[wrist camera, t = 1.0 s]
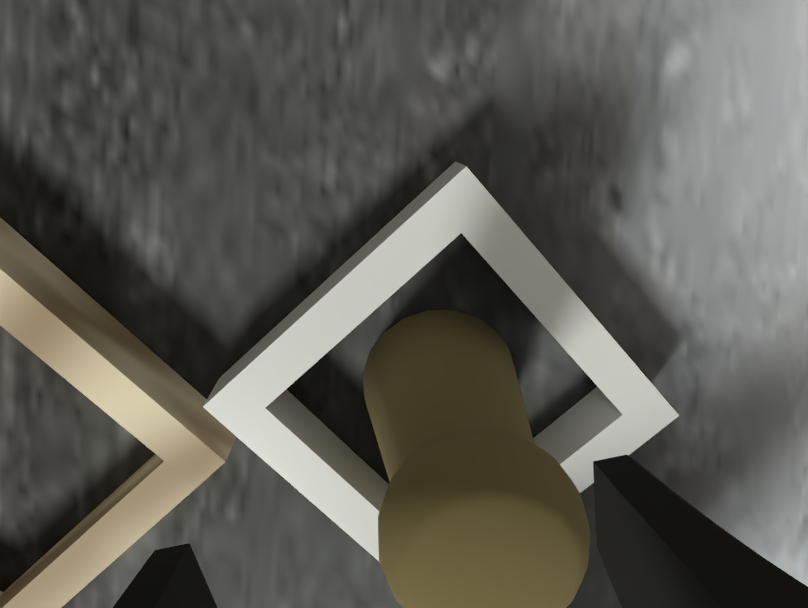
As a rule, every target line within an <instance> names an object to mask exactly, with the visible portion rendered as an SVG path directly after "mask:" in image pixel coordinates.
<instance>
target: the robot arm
mask: <svg viewBox="0 0 808 608" xmlns="http://www.w3.org/2000/svg"><path fill="white" fill-rule="evenodd" d="M593 472H594V492H595V512H596V532H597V547H598V549H599V552H600V554H601V557H602V559H603V562H604V565H605V567H606V570H607V572H608V575H609V577H610V579H611V582H612V584H613V587H614V589H615V591H616V594H617V596H618V599H619V601H620V603H621V605H622V607H623V608H808V587H807V586H806V585H804V584H802V583H801V582H799V581H798V580H796V579H795V578H793V577H792V576H790V575H789V574H787V573H786V572H784V571H783V570H781V569H780V568H778V567H777V566H775V565H774V564H772V563H771V562H769V561H768V560H766V559H765V558H763V557H762V556H760V555H759V554H757V553H756V552H754V551H753V550H752V549H750V548H749V547H747V546H746V545H744V544H743V543H742V542H740V541H739V540H738V539H736V538H735V537H733V536H732V535H731V534H729V533H728V532H727V531H725V530H724V529H722V528H721V527H720V526H718V525H717V524H716V523H714V522H713V521H712V520H710V519H709V518H707V517H706V516H705V515H703V514H702V513H701V512H700V511H698V510H697V509H696V508H694V507H693V506H692V505H690V504H689V503H688V502H687V501H685V500H684V499H683V498H681V497H680V496H679V495H678V494H676V493H675V492H674V491H672V490H671V489H670V488H669V487H667V486H666V485H665V484H664V483H662V482H661V481H660V480H659V479H657V478H656V477H655V476H654V475H652V474H651V473H650V472H649V471H648V470H646V469H645V468H644V467H643V466H641V465H640V464H639V463H638V462H636V461H635V460H634V459H633V458H631V457H630V456H628V455H622V456H617V457H612V458H607V459H602V460H597V461H593ZM113 608H217V606H216V604H215V601H214V599H213V597H212V594H211V592H210V590H209V587H208V585H207V583H206V580H205V578H204V576H203V574H202V571H201V569H200V567H199V564H198V562H197V560H196V557H195V555H194V553H193V551H192V548H191V546H190V544H184V545H179V546H174V547H169V548H164V549H159V550H155V551H154V552H153V554H152V555H151V556H150V558H149V559H148V560H147V562H146V563H145V564H144V566H143V567H142V568H141V570H140V571H139V572H138V574H137V575H136V577H135V578H134V579H133V581H132V582H131V583H130V585H129V586H128V588H127V589H126V590H125V592H124V593H123V594H122V596H121V597H120V598H119V600H118V601H117V603H116V604H115V605H114V607H113Z"/></svg>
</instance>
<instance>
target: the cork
mask: <svg viewBox="0 0 808 608" xmlns="http://www.w3.org/2000/svg"><path fill="white" fill-rule="evenodd" d="M363 392H364V399H365V402H366V406H367V409H368V412H369V415H370V419H371V422H372V425H373V429H374V432H375V435H376V439H377V442H378V445H379V448H380V452H381V455H382V458H383V462H384V465H385V468H386V472H387V475H388V478H389V481H390V484H389V486H388V489H387V492H386V495H385V497H384V500H383V503H382V506H381V509H380V512H379V515H378V546H379V561H380V564H381V566H382V569H383V571H384V574H385V576H386V578H387V581H388V583H389V586H390V588H391V590H392V593H393V595H394V597H395V600H396V601H397V602H398V603H399V604H400V605H401V606H402V607H403V608H567V607H568V606H569V605H570V603H571V602H572V601H573V600H574V597H575V595H576V593H577V591H578V589H579V587H580V584H581V582H582V580H583V578H584V575H585V572H586V570H587V567H588V563H589V551H590V540H591V535H590V529H589V523H588V519H587V515H586V512H585V508H584V505H583V501H582V498H581V495H580V493H579V491H578V489H577V488H576V486H575V485H574V483H573V481H572V480H571V479H570V477H569V476H568V475H567V473H566V472H565V471H564V469H563V468H562V467H561V465H560V464H559V463H558V462H557V460H556V459H555V458H554V457H553V456H551V455H550V454H549V453H547V452H546V451H545V450H543V449H542V448H540V447H539V446H537V445H536V444H534V440H533V437H532V433H531V429H530V425H529V421H528V417H527V413H526V409H525V406H524V402H523V398H522V394H521V390H520V386H519V382H518V378H517V375H516V371H515V367H514V364H513V361H512V357H511V354H510V351H509V348H508V346H507V345H506V344H505V342H504V341H503V339H502V338H501V337H500V335H499V334H498V333H497V331H496V330H495V329H494V328H492V327H491V326H489V325H488V324H486V323H485V322H483V321H482V320H480V319H479V318H478V317H476V316H473V315H470V314H466V313H463V312H459V311H456V310H426V311H424V312H421V313H418V314H415V315H412V316H409V317H406V318H403V319H402V320H401V321H399V322H398V323H397V324H395V325H394V326H392V327H391V328H390V329H388V330H387V331H386V332H384V333H383V335H382V336H381V337H380V339H379V340H378V341H377V343H376V344H375V346H374V347H373V348H372V350H371V351H370V353H369V356H368V359H367V363H366V366H365V369H364V372H363Z"/></svg>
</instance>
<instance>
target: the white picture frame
mask: <svg viewBox="0 0 808 608" xmlns="http://www.w3.org/2000/svg"><path fill="white" fill-rule="evenodd" d="M461 233H462V234H463V236H464V237H465V238H466V239H467V240H468V241H469V242H470V243H471V245H472V246H473V247H474V248H475V249H476V250H477V251H478V252H479V254H480V255H481V256H482V257H483V258H484V259H485V260H486V261H487V263H488V264H489V265H490V266H491V267H492V268H493V269H494V270H495V272H496V273H497V274H498V275H499V276H500V277H501V278H502V279H503V281H504V282H505V283H506V284H507V285H508V286H509V287H510V288H511V290H512V291H513V292H514V293H515V294H516V295H517V296H518V298H519V299H520V300H521V301H522V302H523V303H524V304H525V305H526V307H527V308H528V309H529V310H530V311H531V312H532V313H533V314H534V316H535V317H536V318H537V319H538V320H539V321H540V322H541V323H542V325H543V326H544V327H545V328H546V329H547V330H548V331H549V332H550V334H551V335H552V336H553V337H554V338H555V339H556V340H557V341H558V343H559V344H560V345H561V346H562V347H563V348H564V349H565V350H566V352H567V353H568V354H569V355H570V356H571V357H572V358H573V359H574V361H575V362H576V363H577V364H578V365H579V366H580V367H581V368H582V370H583V371H584V372H585V373H586V374H587V375H588V376H589V377H590V379H591V380H592V381H593V382H594V383H595V384H596V385H597V387H596V388H595V389H593V390H592V391H591V392H590V393H589V394H587V395H586V396H585V397H584V398H582V399H581V400H580V401H579V402H577V403H576V404H575V405H574V406H572V407H571V408H570V409H569V410H568V411H566V412H565V413H564V414H563V415H561V416H560V417H559V418H558V419H556V420H555V421H554V422H553V423H551V424H550V425H549V426H548V427H546V428H545V429H544V430H543V431H542V432H540V433H539V434H538V435H537V436H535V437H534V438H533V440H534V444H536V445H537V446H539V447H540V448H542V449H543V450H545V451H546V452H547V453H549V454H550V455H551V456H553V457H554V458H555V459H556V460H557V462H558V463H559V464H560V465H561V467H562V468H563V469H564V471H565V472H566V473H567V475H568V476H569V477H570V479H571V480H572V481H573V483H574V485H575V486H576V488H577V489H578V491H579V493H581V492H582V491H584V490H585V489H586V488H587V487H589V486H590V485H591V484H592V483H594V472H593V461H597V460H602V459H607V458H612V457H617V456H622V455H630V454H631V453H632V452H634V451H635V450H636V449H637V448H639V447H640V446H641V445H643V444H644V443H645V442H646V441H648V440H649V439H650V438H651V437H653V436H654V435H655V434H657V433H658V432H659V431H660V430H662V429H663V428H664V427H666V426H667V425H668V424H669V423H671V422H672V421H673V420H675V419H676V418H677V417H678V416H679V415H678V414H677V412H676V411H675V410H674V409H673V408H672V407H671V405H670V404H669V403H668V402H667V401H666V400H665V398H664V397H663V396H662V395H661V394H660V393H659V391H658V390H657V389H656V388H655V387H654V386H653V384H652V383H651V382H650V381H649V380H648V378H647V377H646V376H645V375H644V374H643V373H642V371H641V370H640V369H639V368H638V367H637V366H636V364H635V363H634V362H633V361H632V360H631V359H630V357H629V356H628V355H627V354H626V353H625V352H624V350H623V349H622V348H621V347H620V346H619V345H618V343H617V342H616V341H615V340H614V339H613V337H612V336H611V335H610V334H609V333H608V332H607V330H606V329H605V328H604V327H603V326H602V325H601V323H600V322H599V321H598V320H597V319H596V318H595V316H594V315H593V314H592V313H591V312H590V311H589V309H588V308H587V307H586V306H585V305H584V303H583V302H582V301H581V300H580V299H579V298H578V296H577V295H576V294H575V293H574V292H573V291H572V289H571V288H570V287H569V286H568V285H567V284H566V282H565V281H564V280H563V279H562V278H561V277H560V275H559V274H558V273H557V272H556V271H555V269H554V268H553V267H552V266H551V265H550V264H549V262H548V261H547V260H546V259H545V258H544V257H543V255H542V254H541V253H540V252H539V251H538V250H537V248H536V247H535V246H534V245H533V244H532V243H531V241H530V240H529V239H528V238H527V237H526V236H525V234H524V233H523V232H522V231H521V230H520V228H519V227H518V226H517V225H516V224H515V223H514V221H513V220H512V219H511V218H510V217H509V216H508V214H507V213H506V212H505V211H504V210H503V209H502V207H501V206H500V205H499V204H498V203H497V202H496V200H495V199H494V198H493V197H492V196H491V194H490V193H489V192H488V191H487V190H486V189H485V187H484V186H483V185H482V184H481V183H480V182H479V180H478V179H477V178H476V177H475V176H474V175H473V173H472V172H471V171H470V170H469V169H468V168H467V166H465V165H462V164H460V163H458V162H456V161H455V162H454V163H453V164H452V165H451V166H450V167H449V168H448V169H446V170H445V171H444V172H443V173H442V174H441V175H440V176H439V177H438V178H437V179H436V180H434V181H433V182H432V183H431V184H430V185H429V186H428V187H427V188H426V189H425V190H424V191H422V192H421V193H420V194H419V195H418V196H417V197H416V198H415V199H414V200H413V201H412V202H410V203H409V204H408V205H407V206H406V207H405V208H404V209H403V210H402V211H401V212H400V213H398V214H397V215H396V216H395V217H394V218H393V219H392V220H391V221H390V222H389V223H388V224H386V225H385V226H384V227H383V228H382V229H381V230H380V231H379V232H378V233H377V234H376V235H374V236H373V237H372V238H371V239H370V240H369V241H368V242H367V243H366V244H365V245H364V246H363V247H361V248H360V249H359V250H358V251H357V252H356V253H355V254H354V255H353V256H352V257H351V258H349V259H348V260H347V261H346V262H345V263H344V264H343V265H342V266H341V267H340V268H339V269H337V270H336V271H335V272H334V273H333V274H332V275H331V276H330V277H329V278H328V279H327V280H325V281H324V282H323V283H322V284H321V285H320V286H319V287H318V288H317V289H316V290H315V291H313V292H312V293H311V294H310V295H309V296H308V297H307V298H306V299H305V300H304V301H303V302H301V303H300V304H299V305H298V306H297V307H296V308H295V309H294V310H293V311H292V312H291V313H289V314H288V315H287V316H286V317H285V318H284V319H283V320H282V321H281V322H280V323H279V324H277V325H276V326H275V327H274V328H273V329H272V330H271V331H270V332H269V333H268V334H267V335H265V336H264V337H263V338H262V339H261V340H260V341H259V342H258V343H257V344H256V345H255V346H254V347H252V348H251V349H250V350H249V351H248V352H247V353H246V354H245V355H244V356H243V357H242V358H240V359H239V360H238V361H237V362H236V363H235V364H234V365H233V366H232V367H231V368H230V369H228V370H227V371H226V372H225V373H224V374H223V375H222V376H221V377H220V378H219V379H218V381H217V383H216V384H215V386H214V388H213V390H212V391H211V393H210V395H209V397H208V398H207V400H206V402H205V404H204V405H203V408H204V409H206V410H207V411H208V412H209V413H210V414H211V415H212V416H214V417H215V418H216V419H217V420H218V421H219V422H220V423H222V424H223V425H224V426H225V427H226V428H227V429H228V430H230V431H231V432H232V433H233V434H234V435H235V436H236V437H238V438H239V439H240V440H241V441H242V442H243V443H244V444H246V445H247V446H248V447H249V448H250V449H251V450H252V451H254V452H255V453H256V454H257V455H258V456H259V457H260V458H262V459H263V460H264V461H265V462H266V463H267V464H268V465H270V466H271V467H272V468H273V469H274V470H275V471H276V472H278V473H279V474H280V475H281V476H282V477H283V478H284V479H286V480H287V481H288V482H289V483H290V484H291V485H292V486H294V487H295V488H296V489H297V490H298V491H299V492H300V493H302V494H303V495H304V496H305V497H306V498H307V499H308V500H310V501H311V502H312V503H313V504H314V505H315V506H316V507H318V508H319V509H320V510H321V511H322V512H323V513H324V514H326V515H327V516H328V517H329V518H330V519H331V520H332V521H334V522H335V523H336V524H337V525H338V526H339V527H340V528H342V529H343V530H344V531H345V532H346V533H347V534H348V535H350V536H351V537H352V538H353V539H354V540H355V541H356V542H357V543H359V544H360V545H361V546H362V547H363V548H364V549H365V550H367V551H368V552H369V553H370V554H371V555H372V556H373V557H375V558H376V559H377V560H378V561H379V546H378V515H379V512H380V509H381V506H382V503H383V500H384V497H385V495H386V492H387V489H388V486H389V484H388V483H387V482H386V481H385V480H384V479H383V478H382V477H380V476H379V475H378V474H377V473H376V472H375V471H374V470H373V469H372V468H371V467H370V466H369V465H367V464H366V463H365V462H364V461H363V460H362V459H361V458H360V457H359V456H358V455H357V454H356V453H355V452H353V451H352V450H351V449H350V448H349V447H348V446H347V445H346V444H345V443H344V442H343V441H342V440H341V439H339V438H338V437H337V436H336V435H335V434H334V433H333V432H332V431H331V430H330V429H329V428H328V427H327V426H325V425H324V424H323V423H322V422H321V421H320V420H319V419H318V418H317V417H316V416H315V415H314V414H312V413H311V412H310V411H309V410H308V409H307V408H306V407H305V406H304V405H303V404H302V403H301V402H300V401H298V400H297V399H296V398H295V397H294V396H293V395H292V394H291V393H290V392H289V391H288V390H287V388H288V387H289V386H290V385H292V384H293V383H294V382H295V381H296V380H297V379H298V378H299V377H301V376H302V375H303V374H304V373H305V372H306V371H307V370H308V369H309V368H311V367H312V366H313V365H314V364H315V363H316V362H317V361H318V360H320V359H321V358H322V357H323V356H324V355H325V354H326V353H327V352H329V351H330V350H331V349H332V348H333V347H334V346H335V345H336V344H337V343H339V342H340V341H341V340H342V339H343V338H344V337H345V336H346V335H348V334H349V333H350V332H351V331H352V330H353V329H354V328H355V327H357V326H358V325H359V324H360V323H361V322H362V321H363V320H364V319H365V318H367V317H368V316H369V315H370V314H371V313H372V312H373V311H374V310H376V309H377V308H378V307H379V306H380V305H381V304H382V303H383V302H385V301H386V300H387V299H388V298H389V297H390V296H391V295H392V294H393V293H395V292H396V291H397V290H398V289H399V288H400V287H401V286H402V285H404V284H405V283H406V282H407V281H408V280H409V279H410V278H411V277H413V276H414V275H415V274H416V273H417V272H418V271H419V270H420V269H421V268H423V267H424V266H425V265H426V264H427V263H428V262H429V261H430V260H432V259H433V258H434V257H435V256H436V255H437V254H438V253H439V252H441V251H442V250H443V249H444V248H445V247H446V246H447V245H448V244H449V243H451V242H452V241H453V240H454V239H455V238H456V237H457V236H458V235H460V234H461ZM379 562H380V561H379Z"/></svg>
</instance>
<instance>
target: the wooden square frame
mask: <svg viewBox="0 0 808 608" xmlns="http://www.w3.org/2000/svg"><path fill="white" fill-rule="evenodd" d="M0 325H1V326H2V327H3V328H4V329H6V330H7V331H8V332H9V333H10V334H12V335H13V336H14V337H15V338H16V339H18V340H19V341H20V342H21V343H22V344H24V345H25V346H26V347H27V348H28V349H30V350H31V351H32V352H33V353H34V354H36V355H37V356H38V357H39V358H40V359H42V360H43V361H44V362H45V363H46V364H48V365H49V366H50V367H51V368H53V369H54V370H55V371H56V372H57V373H59V374H60V375H61V376H62V377H63V378H65V379H66V380H67V381H68V382H69V383H71V384H72V385H73V386H74V387H75V388H77V389H78V390H79V391H80V392H81V393H83V394H84V395H85V396H86V397H87V398H89V399H90V400H91V401H92V402H94V403H95V404H96V405H97V406H98V407H100V408H101V409H102V410H103V411H104V412H106V413H107V414H108V415H109V416H110V417H112V418H113V419H114V420H115V421H116V422H118V423H119V424H120V425H121V426H122V427H124V428H125V429H126V430H127V431H128V432H130V433H131V434H132V435H133V436H135V437H136V438H137V439H138V440H139V441H141V442H142V443H143V444H144V445H145V446H147V447H148V448H149V449H150V450H151V451H153V452H154V453H155V454H154V455H153V456H152V457H151V458H150V459H149V460H148V461H147V462H146V463H145V464H143V465H142V466H141V467H140V468H139V469H138V470H137V471H136V472H135V473H134V474H133V475H131V476H130V477H129V478H128V479H127V480H126V481H125V482H124V483H123V484H122V485H120V486H119V487H118V488H117V489H116V490H115V491H114V492H113V493H112V494H111V495H109V496H108V497H107V498H106V499H105V500H104V501H103V502H102V503H101V504H100V505H98V506H97V507H96V508H95V509H94V510H93V511H92V512H91V513H90V514H89V515H88V516H86V517H85V518H84V519H83V520H82V521H81V522H80V523H79V524H78V525H77V526H75V527H74V528H73V529H72V530H71V531H70V532H69V533H68V534H67V535H66V536H64V537H63V538H62V539H61V540H60V541H59V542H58V543H57V544H56V545H55V546H54V547H52V548H51V549H50V550H49V551H48V552H47V553H46V554H45V555H44V556H43V557H41V558H40V559H39V560H38V561H37V562H36V563H35V564H34V565H33V566H32V567H30V568H29V569H28V570H27V571H26V572H25V573H24V574H23V575H22V576H21V577H19V578H18V579H17V580H16V581H15V582H14V583H13V584H12V585H11V586H10V587H9V588H7V589H6V590H5V591H4V592H2V591H1V590H0V608H61V607H62V606H63V605H65V604H66V603H67V602H68V601H69V600H70V599H71V598H72V597H74V596H75V595H76V594H77V593H78V592H79V591H80V590H82V589H83V588H84V587H85V586H86V585H87V584H88V583H89V582H91V581H92V580H93V579H94V578H95V577H96V576H97V575H98V574H100V573H101V572H102V571H103V570H104V569H105V568H106V567H107V566H109V565H110V564H111V563H112V562H113V561H114V560H115V559H116V558H118V557H119V556H120V555H121V554H122V553H123V552H124V551H126V550H127V549H128V548H129V547H130V546H131V545H132V544H133V543H135V542H136V541H137V540H138V539H139V538H140V537H141V536H142V535H144V534H145V533H146V532H147V531H148V530H149V529H150V528H151V527H153V526H154V525H155V524H156V523H157V522H158V521H159V520H161V519H162V518H163V517H164V516H165V515H166V514H167V513H168V512H170V511H171V510H172V509H173V508H174V507H175V506H176V505H177V504H179V503H180V502H181V501H182V500H183V499H184V498H185V497H186V496H188V495H189V494H190V493H191V492H192V491H193V490H194V489H195V488H197V487H198V486H199V485H200V484H201V483H202V482H203V481H205V480H206V479H207V478H208V477H209V476H210V475H211V474H212V473H214V472H215V471H216V470H217V469H218V468H219V467H220V466H221V465H223V464H224V463H225V462H226V460H227V457H228V455H229V452H230V450H231V447H232V445H233V443H234V440H235V438H236V436H235V435H234V434H233V433H232V432H231V431H230V430H228V429H227V428H226V427H225V426H224V425H223V424H222V423H220V422H219V421H218V420H217V419H216V418H215V417H214V416H212V415H211V414H210V413H209V412H208V411H207V410H206V409H204V408H203V405H204V404H205V402H206V400H207V399H206V398H205V397H204V396H202V395H201V394H200V393H199V392H198V391H197V390H196V389H194V388H193V387H192V386H191V385H190V384H189V383H188V382H187V381H185V380H184V379H183V378H182V377H181V376H180V375H179V374H177V373H176V372H175V371H174V370H173V369H172V368H171V367H170V366H168V365H167V364H166V363H165V362H164V361H163V360H162V359H160V358H159V357H158V356H157V355H156V354H155V353H154V352H153V351H151V350H150V349H149V348H148V347H147V346H146V345H145V344H143V343H142V342H141V341H140V340H139V339H138V338H137V337H136V336H134V335H133V334H132V333H131V332H130V331H129V330H128V329H126V328H125V327H124V326H123V325H122V324H121V323H120V322H119V321H117V320H116V319H115V318H114V317H113V316H112V315H111V314H109V313H108V312H107V311H106V310H105V309H104V308H103V307H101V306H100V305H99V304H98V303H97V302H96V301H95V300H94V299H92V298H91V297H90V296H89V295H88V294H87V293H86V292H84V291H83V290H82V289H81V288H80V287H79V286H78V285H77V284H75V283H74V282H73V281H72V280H71V279H70V278H69V277H67V276H66V275H65V274H64V273H63V272H62V271H61V270H60V269H58V268H57V267H56V266H55V265H54V264H53V263H52V262H50V261H49V260H48V259H47V258H46V257H45V256H44V255H43V254H41V253H40V252H39V251H38V250H37V249H36V248H35V247H33V246H32V245H31V244H30V243H29V242H28V241H27V240H26V239H24V238H23V237H22V236H21V235H20V234H19V233H18V232H16V231H15V230H14V229H13V228H12V227H11V226H10V225H9V224H7V223H6V222H5V221H4V220H3V219H2V218H1V217H0Z"/></svg>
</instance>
